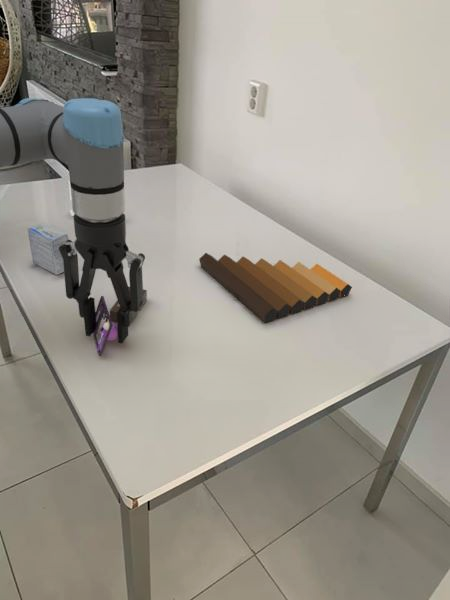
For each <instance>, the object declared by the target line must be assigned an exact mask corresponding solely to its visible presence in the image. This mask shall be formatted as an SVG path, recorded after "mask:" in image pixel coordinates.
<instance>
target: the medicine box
mask: <svg viewBox="0 0 450 600" xmlns="http://www.w3.org/2000/svg"><path fill="white" fill-rule="evenodd" d="M27 234H28V240H29V247H30V253H31V256H32V263H33V264H35V265H36V266H38V267H40V268H42V269H44V270H46V271H48V272H50V273H52V274H54V275H56V276H58V275H60V274H62V273H64V263H63V258H62V256H61V253H60V251H59V247H60V246H61V245H62V244H63V243H64V242H66V241H67V240H70V239H69V234H68V233H67V232H65V231H63V230H61V229H60V228H56V227H54V226H52V225H50V224H48V223H45V222H43V223H42V222H41V223H39V224H36V225H33V226H31V227H29V228H27Z"/></svg>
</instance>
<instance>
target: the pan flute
mask: <svg viewBox="0 0 450 600" xmlns="http://www.w3.org/2000/svg"><path fill="white" fill-rule="evenodd" d="M198 261H199V264H200V267H201V268H202V269H204V270H205V271H206V273H208V274H209V275H210V276H211V277H212V278H213V279H215V281H217V282H218V283H219V284H220V285H221V286H222V287H223V288H225V289H226V290H227V292H229V293H230V294H232V295H233V297H235V298H236V299H237V300H238V301H239V302H240V303H242V304H243V305H244V306H245V307H246V308H247V309H248V310H249V311H250V312H252V313H253V314H254V315H255V317H257V318H259V319H260V321H262V322H263V323H264V324H269V323H272V322H274V321H275V320H276V318H277V319H279V320H280V319H284V318H287V317H288V315H289V314H291V315H295V314H298V313H301V312H302V309H303V310H305V311H306V310H309V309H313V308H314V306H315V305H316V306H322V305H324V304H326V302H329V303H330V302H333V301H336V300H337V299H338V298H340V299H342V298H346V297H348V296H349V294H350V292H351V290H352V288H353V286H351V285H350V284H348V283H347V282H346V281H344V280H342V279H341V278H339V276H337V275H336V274H334V273H332V272H331V271H330V270H328V269H327V268H325V267H323V266H322V265H320V264H319V263H316V264H314V265H313V266H312V268H309V267H307V266H305V264H303V263H301V262H300V261H297V262H296V263H295V264H294V265H293V266H290V265H288V264H287V263H285V262H284V261H283V260H281V259H279V260H278V261H277V262H275V264H274V265H273V264H271V263H270V262H268V261H267V260H265V259H264V258H262V257H261V258H260V259H259V260H257V262H255V263H254V262H252V261H251V260H250V259H249V258H247V257H245V256H241V257H240V259H238V260H237V261H235V260H234V259H232V258H231V257H230V256H228V255H226V254H223V255H222V256H221V257H220V258H219V259H217V258H215V257H214V256H212V255H211V254H209V253H208V252H205V253H203V255H201V257H199V259H198ZM347 294H348V295H347ZM344 295H345V296H344Z"/></svg>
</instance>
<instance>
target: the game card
mask: <svg viewBox="0 0 450 600" xmlns="http://www.w3.org/2000/svg"><path fill="white" fill-rule="evenodd" d="M95 314H96V327H95V330H94V332H93V333H92V336H93V340H94V343H95V348H96V352H97V355H98V357H102V356H103V353H104V350H105V348H106V345H107V341H114V340H118V327H117V322H112V321H111V318H110V311H109V309H108V306H107V303H106V299H105V296H104V295H100V297H99V300H98V304H97V306H96V308H95ZM102 321H103V322H104V323H103V324H102ZM101 324H102V325H101ZM98 332H99V334H100V339H99V338H98V336H97V335H98ZM98 339H99V340H98Z"/></svg>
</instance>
